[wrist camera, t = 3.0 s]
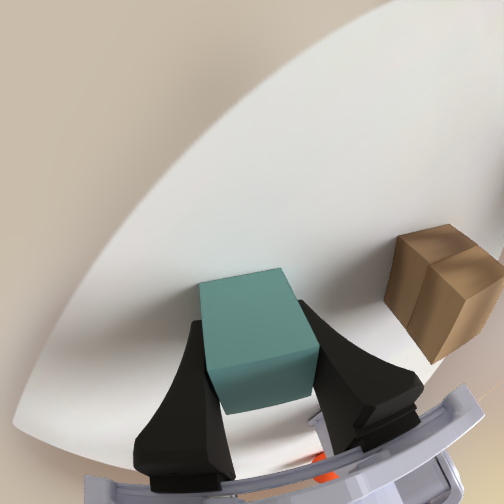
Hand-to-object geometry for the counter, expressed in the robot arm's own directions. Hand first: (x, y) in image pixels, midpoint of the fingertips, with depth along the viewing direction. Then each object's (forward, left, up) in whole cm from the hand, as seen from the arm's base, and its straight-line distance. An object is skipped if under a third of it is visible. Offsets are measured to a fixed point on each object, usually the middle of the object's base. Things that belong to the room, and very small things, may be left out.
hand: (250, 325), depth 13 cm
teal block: (0, 0, -1) cm, 1 cm away
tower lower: (+6, -10, -2) cm, 12 cm away
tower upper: (+6, -10, +1) cm, 12 cm away
